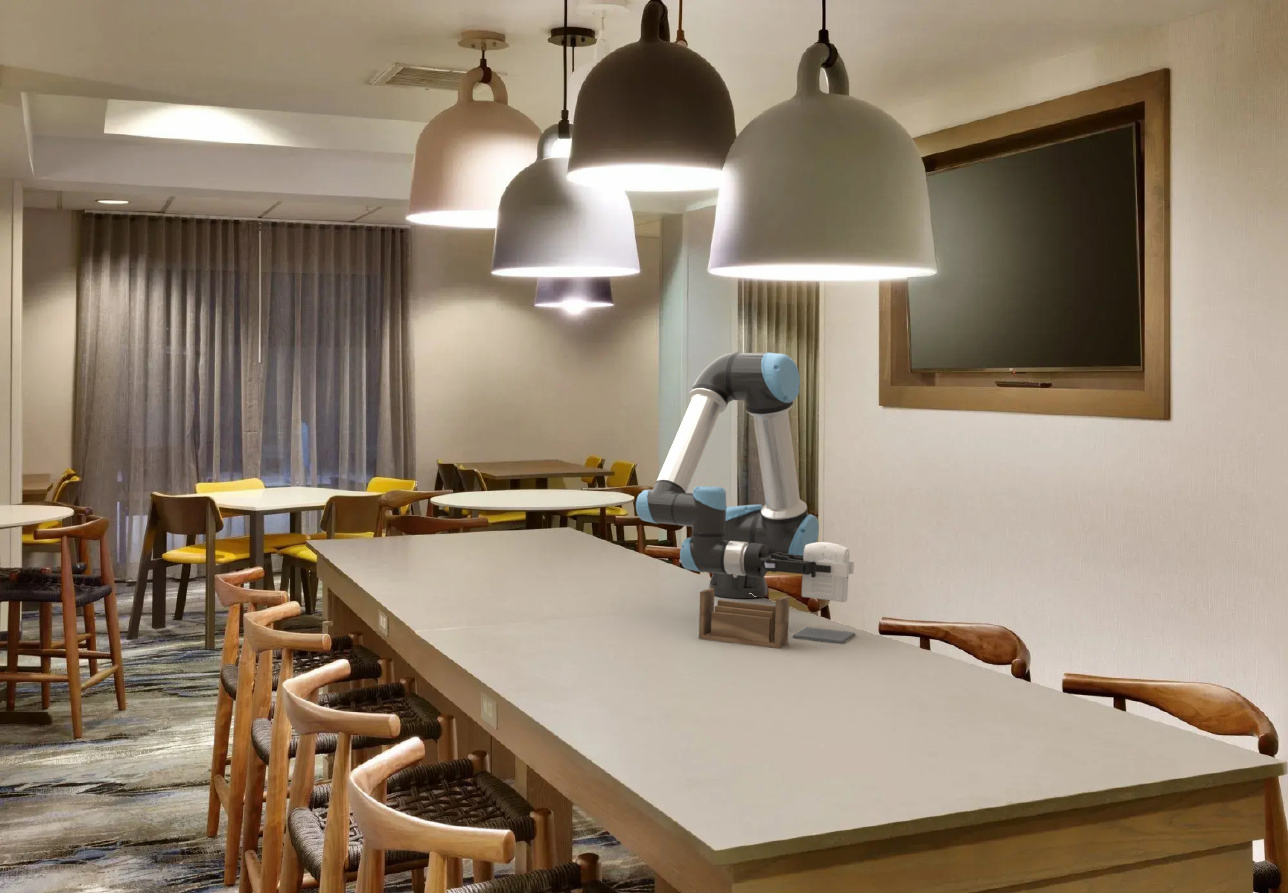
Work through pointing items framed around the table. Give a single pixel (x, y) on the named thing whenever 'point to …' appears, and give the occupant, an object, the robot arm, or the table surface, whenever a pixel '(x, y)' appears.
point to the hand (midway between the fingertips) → (849, 569)
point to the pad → (824, 635)
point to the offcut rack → (744, 621)
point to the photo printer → (826, 584)
